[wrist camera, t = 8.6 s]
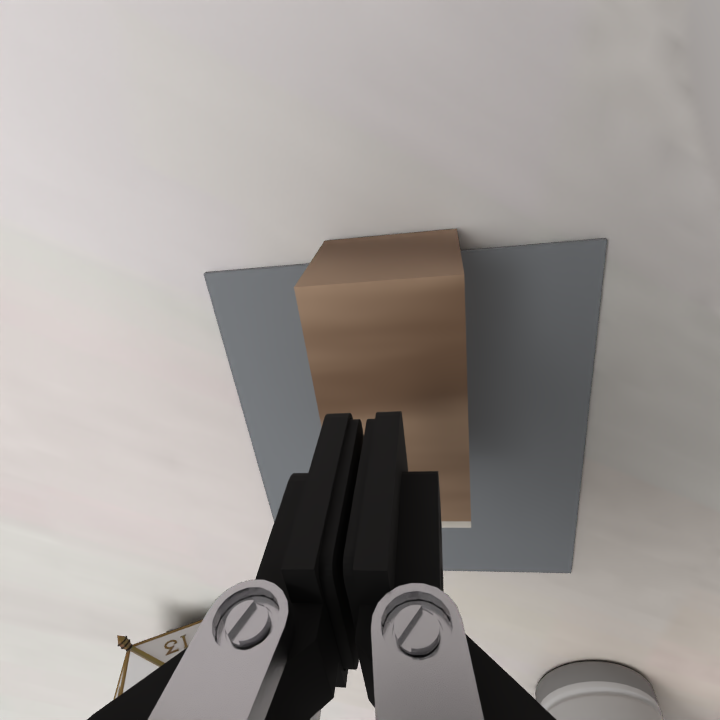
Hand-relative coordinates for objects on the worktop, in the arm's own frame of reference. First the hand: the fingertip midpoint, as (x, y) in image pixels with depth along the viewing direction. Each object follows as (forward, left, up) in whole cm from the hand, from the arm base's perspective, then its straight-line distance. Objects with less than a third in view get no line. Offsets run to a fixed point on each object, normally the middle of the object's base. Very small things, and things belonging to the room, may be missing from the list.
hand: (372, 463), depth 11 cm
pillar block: (-3, 0, -6) cm, 7 cm away
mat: (+6, 0, -8) cm, 10 cm away
